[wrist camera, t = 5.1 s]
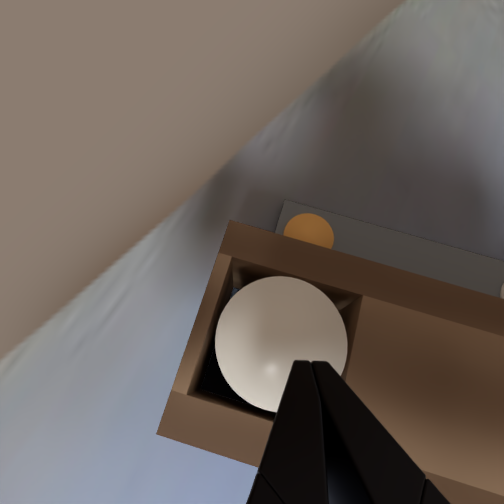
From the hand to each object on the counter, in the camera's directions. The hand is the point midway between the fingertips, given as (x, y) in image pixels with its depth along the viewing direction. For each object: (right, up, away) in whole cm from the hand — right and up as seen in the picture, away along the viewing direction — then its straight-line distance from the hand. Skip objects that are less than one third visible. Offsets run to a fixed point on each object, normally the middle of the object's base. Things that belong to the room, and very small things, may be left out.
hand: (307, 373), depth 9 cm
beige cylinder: (0, -2, +11) cm, 11 cm away
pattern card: (+8, +2, +13) cm, 16 cm away
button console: (+6, -4, +11) cm, 14 cm away
